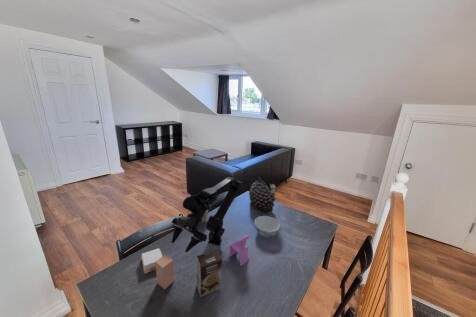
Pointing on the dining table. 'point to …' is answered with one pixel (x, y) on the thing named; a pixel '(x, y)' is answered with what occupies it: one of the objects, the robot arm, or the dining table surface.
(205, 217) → the flower pot
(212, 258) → the coffee box
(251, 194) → the dark pinecone ornament
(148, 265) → the top slab
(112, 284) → the dining table surface
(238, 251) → the toy chair
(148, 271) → the bottom slab
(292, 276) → the dining table surface
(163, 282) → the pillar
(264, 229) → the chinaware
